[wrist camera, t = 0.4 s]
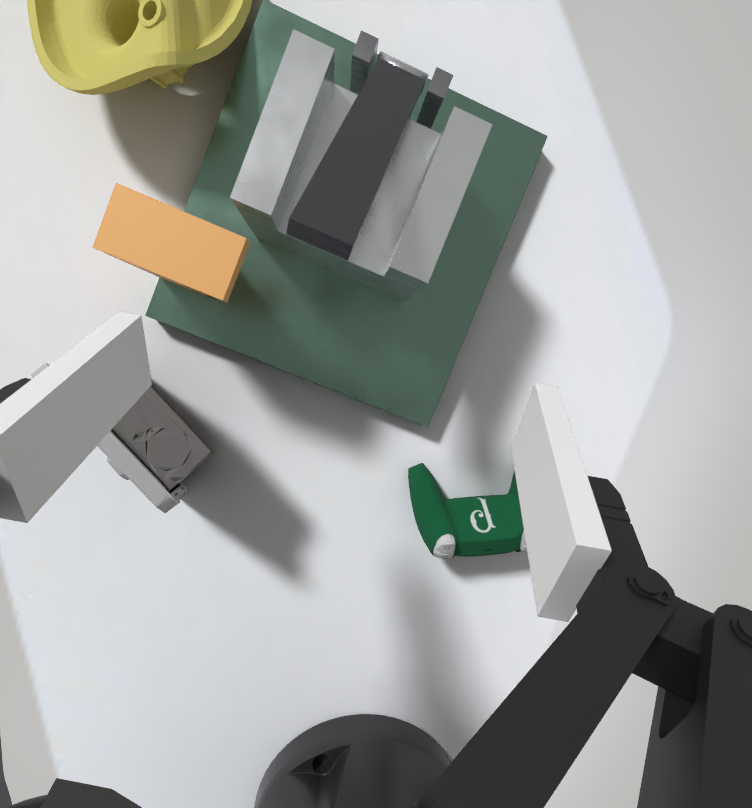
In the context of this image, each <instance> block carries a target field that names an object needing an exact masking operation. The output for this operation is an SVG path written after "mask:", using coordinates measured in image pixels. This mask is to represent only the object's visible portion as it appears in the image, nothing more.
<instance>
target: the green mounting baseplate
mask: <svg viewBox="0 0 752 808" xmlns="http://www.w3.org/2000/svg"><path fill="white" fill-rule="evenodd" d="M377 46H378V38H376V37H374V36H372V35H369V34H367V33H365V32H363V31H361V33H360V35H359V38H358V41H357V43H356V44H355V43H353V42H351V41H349V40H347V39H345V38H343V37H341V36H339V35H337V34H335V33H332V32H330V31H328V30H326V29H324V28H322V27H320V26H318V25H316V24H314V23H312V22H310V21H308V20H306V19H303V18H301V17H299V16H297V15H295V14H293V13H291V12H289V11H287V10H285V9H283V8H281V7H279V6H276V5H274V4H272V3H270V2H268V1H266V0H263V1H262V4H261V6H260V9H259V12H258V14H257V17H256V20H255V22H254V25H253V28H252V30H251V33H250V36H249V39H248V41H247V44H246V47H245V49H244V52H243V55H242V57H241V60H240V63H239V65H238V68H237V71H236V73H235V76H234V79H233V82H232V84H231V87H230V90H229V92H228V95H227V98H226V100H225V103H224V106H223V108H222V111H221V114H220V116H219V119H218V122H217V125H216V127H215V130H214V133H213V135H212V138H211V141H210V143H209V146H208V149H207V151H206V154H205V157H204V159H203V162H202V165H201V168H200V170H199V173H198V176H197V178H196V181H195V184H194V186H193V189H192V192H191V194H190V197H189V200H188V202H187V205H186V208H185V211H184V212H186V213H188V214H191V215H193V216H196V217H198V218H200V219H203V220H205V221H207V222H210V223H212V224H214V225H217V226H219V227H221V228H224V229H226V230H229V231H231V232H233V233H236V234H238V235H240V236H243V237H245V238H247V239H248V241H249V242H250V245H249V247H248V250H247V253H246V255H245V258H244V260H243V263H242V266H241V268H240V271H239V274H238V276H237V279H236V281H235V284H234V287H233V289H232V292H231V295H230V297H229V300H228V302H224V301H222V300H220V299H217V298H215V297H212V296H210V295H207V296H204V295H202V294H200V293H197V292H195V291H192V290H190V289H187V288H185V287H182V286H180V285H177V284H175V283H173V282H170V281H168V280H165V279H163V278H159V280H158V283H157V286H156V288H155V291H154V294H153V297H152V299H151V302H150V305H149V307H148V310H147V313H146V315H145V316H148V317H150V318H153V319H155V320H158V321H160V322H163V323H165V324H168V325H171V326H173V327H176V328H178V329H181V330H183V331H186V332H188V333H191V334H193V335H196V336H198V337H201V338H203V339H206V340H208V341H211V342H213V343H216V344H218V345H221V346H223V347H226V348H229V349H231V350H234V351H236V352H239V353H241V354H244V355H246V356H249V357H251V358H254V359H256V360H259V361H261V362H264V363H266V364H269V365H271V366H274V367H276V368H279V369H281V370H284V371H287V372H289V373H292V374H294V375H297V376H299V377H302V378H304V379H307V380H309V381H312V382H314V383H317V384H319V385H322V386H324V387H327V388H329V389H332V390H334V391H337V392H339V393H342V394H345V395H347V396H350V397H352V398H355V399H357V400H360V401H362V402H365V403H367V404H370V405H372V406H375V407H377V408H380V409H382V410H385V411H387V412H390V413H392V414H395V415H398V416H400V417H403V418H405V419H408V420H410V421H413V422H415V423H418V424H420V425H423V426H425V427H428V425H429V422H430V420H431V418H432V415H433V413H434V410H435V408H436V405H437V403H438V401H439V398H440V396H441V393H442V391H443V388H444V386H445V384H446V381H447V379H448V376H449V374H450V372H451V369H452V367H453V364H454V362H455V359H456V357H457V355H458V352H459V350H460V347H461V345H462V342H463V340H464V338H465V335H466V333H467V330H468V328H469V325H470V323H471V321H472V318H473V316H474V313H475V311H476V309H477V306H478V304H479V301H480V299H481V296H482V294H483V292H484V289H485V287H486V284H487V282H488V279H489V277H490V275H491V272H492V270H493V267H494V265H495V262H496V260H497V258H498V255H499V253H500V250H501V248H502V245H503V243H504V241H505V238H506V236H507V233H508V231H509V229H510V226H511V224H512V221H513V219H514V216H515V214H516V212H517V209H518V207H519V204H520V202H521V199H522V197H523V195H524V192H525V190H526V187H527V185H528V182H529V180H530V178H531V175H532V173H533V170H534V168H535V166H536V163H537V161H538V158H539V156H540V153H541V151H542V149H543V146H544V144H545V141H546V139H547V136H546V135H544V134H542V133H540V132H538V131H536V130H534V129H532V128H530V127H528V126H525V125H523V124H521V123H519V122H517V121H515V120H513V119H511V118H509V117H507V116H505V115H503V114H501V113H498V112H496V111H494V110H492V109H490V108H488V107H486V106H484V105H482V104H480V103H478V102H476V101H474V100H471V99H469V98H467V97H465V96H463V95H461V94H459V93H457V92H455V91H453V90H451V89H449V88H448V87H449V85H450V82H451V80H452V77H453V75H452V74H450V73H448V72H446V71H444V70H442V69H439V68H436V70H435V73H434V75H433V78H432V80H430V79H428V78H427V81H426V83H425V86H424V89H423V91H422V94H421V96H420V95H419V98H418V100H417V102H416V105H415V107H414V109H413V112H412V114H411V116H410V119H409V121H408V123H407V126H406V128H405V130H404V132H403V135H402V137H401V139H400V142H399V144H398V146H397V149H396V151H395V153H394V156H393V158H392V160H391V163H390V165H389V167H388V169H387V172H386V174H385V176H384V179H383V181H382V183H381V186H380V188H379V190H378V193H377V195H376V197H375V200H374V202H373V204H372V207H371V209H370V211H369V213H368V216H367V218H366V220H365V223H364V225H363V227H362V230H361V232H360V234H359V237H358V239H357V241H356V244H355V246H354V248H353V250H352V253H351V255H350V257H349V260H348V261H347V260H345V259H343V258H340V257H338V256H336V255H333V254H331V253H329V252H326V251H324V250H322V249H319V248H317V247H315V246H312V245H310V244H308V243H305V242H303V241H301V240H298V239H296V238H294V237H291V236H289V235H287V234H286V232H287V227H288V221H289V217H290V215H291V214H292V212H293V210H294V208H295V206H296V205H297V203H298V201H299V199H300V198H301V196H302V194H303V192H304V190H305V189H306V187H307V185H308V183H309V181H310V180H311V178H312V176H313V174H314V173H315V171H316V169H317V167H318V165H319V164H320V162H321V160H322V158H323V156H324V155H325V153H326V151H327V149H328V148H329V146H330V144H331V142H332V140H333V139H334V137H335V135H336V133H337V132H338V130H339V128H340V126H341V124H342V123H343V121H344V119H345V117H346V115H347V114H348V112H349V110H350V108H351V107H352V105H353V103H354V101H355V99H356V98H357V96H358V94H359V92H360V90H361V89H362V87H363V85H364V83H365V82H366V80H367V78H368V76H369V74H370V73H371V71H372V69H373V67H374V65H375V64H376V61H377V58H378V56H379V55H378V54H376V53H377Z"/></svg>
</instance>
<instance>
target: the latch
mask: <svg viewBox="0 0 752 808" xmlns="http://www.w3.org/2000/svg"><path fill="white" fill-rule="evenodd" d="M249 245H250V242H249V241H248V239H247V238H245V237H243V236H240V235H238V234H236V233H233V232H231V231H229V230H226V229H224V228H221V227H219V226H217V225H214V224H212V223H210V222H207V221H205V220H203V219H200V218H198V217H196V216H193V215H191V214H188V213H186V212H184V211H181V210H179V209H177V208H174V207H172V206H170V205H167V204H165V203H163V202H160V201H158V200H155V199H153V198H151V197H148V196H146V195H144V194H141V193H139V192H137V191H134V190H132V189H129V188H127V187H125V186H122V185H120V184H118V183H116V184H115V187H114V190H113V193H112V195H111V198H110V201H109V204H108V206H107V209H106V212H105V215H104V217H103V220H102V223H101V226H100V228H99V231H98V234H97V237H96V240H95V242H94V245H93V248H95V249H97V250H99V251H102V252H104V253H106V254H108V255H111V256H113V257H115V258H117V259H120V260H122V261H124V262H126V263H129V264H131V265H133V266H135V267H138V268H140V269H142V270H144V271H147V272H149V273H151V274H153V275H156V276H158V277H160V278H163V279H165V280H168V281H170V282H173V283H175V284H177V285H180V286H182V287H185V288H187V289H190V290H192V291H195V292H197V293H200V294H202V295H204V296H207V295H210V296H212V297H215V298H217V299H220V300H222V301H224V302H228V300H229V297H230V295H231V292H232V289H233V287H234V284H235V281H236V279H237V276H238V274H239V271H240V268H241V266H242V263H243V260H244V258H245V255H246V253H247V250H248V247H249Z"/></svg>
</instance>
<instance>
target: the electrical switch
mask: <svg viewBox="0 0 752 808" xmlns="http://www.w3.org/2000/svg"><path fill="white" fill-rule="evenodd" d="M48 366H49V365H48V364H47V363H45V364H44V365H42V366H41V367H40V368H39V369H37V370H36V371H35V372H34V373H32V374H31V376H32V377H33V378H34V377H35V376H37V375H38V374H39V373H40V372H42V371H43V370H44V369H46V368H47V367H48ZM152 427H153V428H152ZM97 446H98V447H99V448H100V449H101V450H102V451H103V452H104V453H105V454H106V455H107V456H108V458H107V460H108V463H109V464H110V465H111V466H112V467H113V469H114V470H115V471H116V472H117V473H118V474H119V475H120V476H121V477H123V478H124V479H126V480H128V479H130V480H131V481H132V482H133V483H134V484H135V485H136V486H137V487H138V488H139V490H140V491H141V492H142V493H143V494H144V495H145V496H146V497H147V498H148V499H149V500H150V501H151V502H152V503H153V504H154V505H155V506H156V507H157V508H158V509H160V510H161V511H163V512H164V513H166V512H168V511H169V510H170V509H172V508H173V507H174V506H176V505H177V504H178V503H180V501H179V500H180V499H181V498H182V497H183V496H184V495H185V494H186V493H188V491H187V489H186V487H185V486H184V485H183V483H182V482H181V481H182V480H184V479H185V478H186V477H187V476H189V475H190V474H191V473H192V472H194V471H195V470H196V469H197V468H199V467H200V466H201V464H202V463H204V462H205V461H206V460H207V459H208V458H209V457H210V456H211V455H212V454H213V453H212V451H211V450H210V449H209V448H208V447H207V446H206V444H205V443H204V442H203V441H202V440H201V439H200V438H199V437H198V436H197V435H196V434H195V433H194V432H193V430H192V429H191V428H190V427H189V426H188V425H187V424H186V423H185V422H184V421H183V420H182V419H181V418H180V417H179V415H178V414H177V413H176V412H175V411H174V410H173V409H172V408H171V407H170V406H169V405H168V404H167V403H166V401H165V400H164V399H163V398H162V397H161V396H160V395H159V394H158V393H157V392H156V391H155V390H154V389H153V388H152V386H150V387H149V388H148V389H147V390H146V392H145V393H144V394H143V395H142V396H141V397H140V398H139V399H138V400H137V402H136V403H135V404H134V405H133V406H132V407H131V408H130V409H129V410H128V412H127V413H126V414H125V415H124V416H123V417H122V418H121V419H120V420H119V422H118V423H117V424H116V425H115V426H114V427H113V428H112V429H111V430H110V432H109V433H108V434H107V435H106V436H105V437H104V438H103V439H102V441H101V442H100V443H99V444H98V445H97Z"/></svg>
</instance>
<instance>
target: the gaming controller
mask: <svg viewBox="0 0 752 808" xmlns="http://www.w3.org/2000/svg"><path fill="white" fill-rule="evenodd" d="M408 478H409V488H410V496H411V502H412V507H413V512H414V516H415V520H416V523H417V526H418V529H419V531H420V534H421V536H422V538H423V540H424V542H425V544H426V545H427V547H428V549H429V550H430V552H431V554H432V555H434V556H436V557H439V558H453V557H454V556H484V555H494V554H503V553H509V552H512V551H516V552H520V551H522V552H526V551H527V546H526V539H525V533H524V527H523V520H522V514H521V507H520V501H519V495H518V488H517V482H516V475H515V471H514V475H513V479H512V483H511V487H510V490H509V493H508V494H506V495H490V496H476V497H464V498H454V499H445V498H444V497H443V496H442V494H441V492H440V490H439V487H438V485H437V483H436V481H435V479H434V477H433V475H432V474H431V473H430V471H429V470H428V469H427V468H426V466H425V465H424V464H423V463H421V464H418V465H416V466H413V467H411V468H409V470H408Z"/></svg>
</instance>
